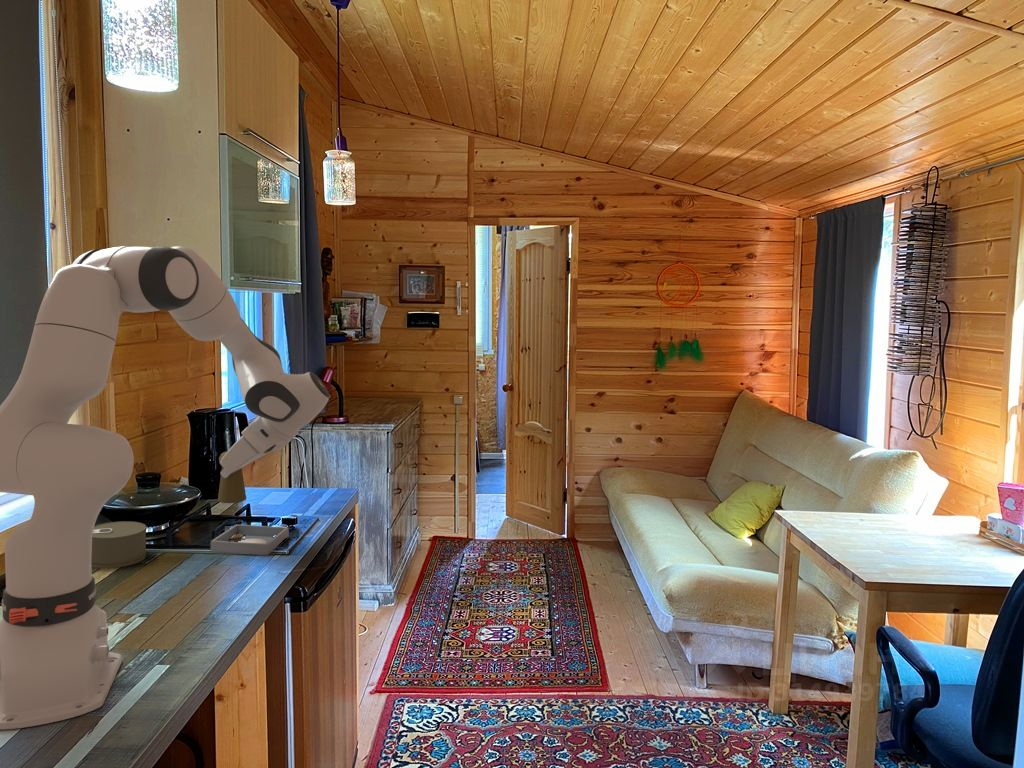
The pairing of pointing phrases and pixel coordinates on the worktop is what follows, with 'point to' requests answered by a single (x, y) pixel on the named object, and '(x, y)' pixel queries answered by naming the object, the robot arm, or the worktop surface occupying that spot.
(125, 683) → the worktop surface
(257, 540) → the resting spot
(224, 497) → the cork
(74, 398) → the robot arm
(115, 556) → the can
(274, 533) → the tray
